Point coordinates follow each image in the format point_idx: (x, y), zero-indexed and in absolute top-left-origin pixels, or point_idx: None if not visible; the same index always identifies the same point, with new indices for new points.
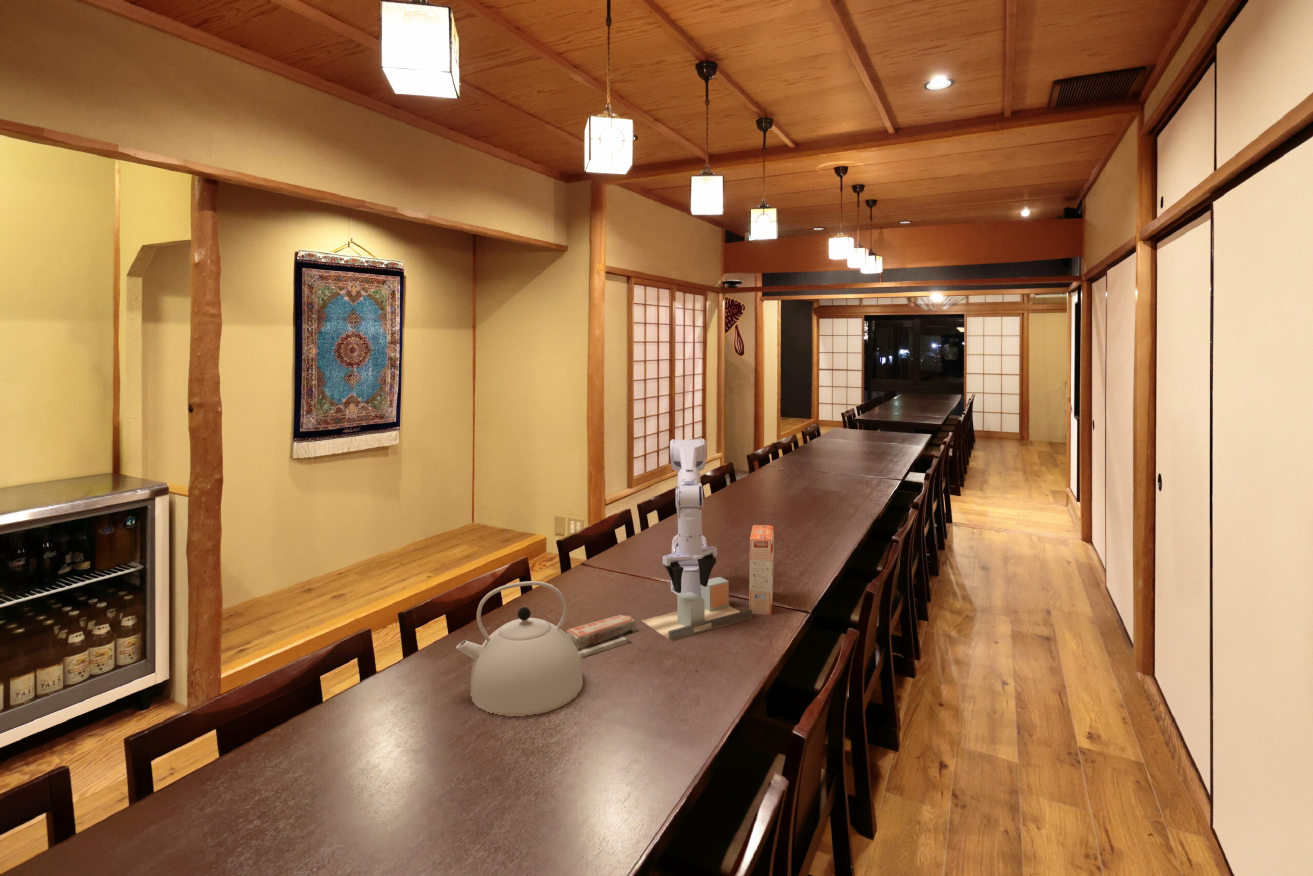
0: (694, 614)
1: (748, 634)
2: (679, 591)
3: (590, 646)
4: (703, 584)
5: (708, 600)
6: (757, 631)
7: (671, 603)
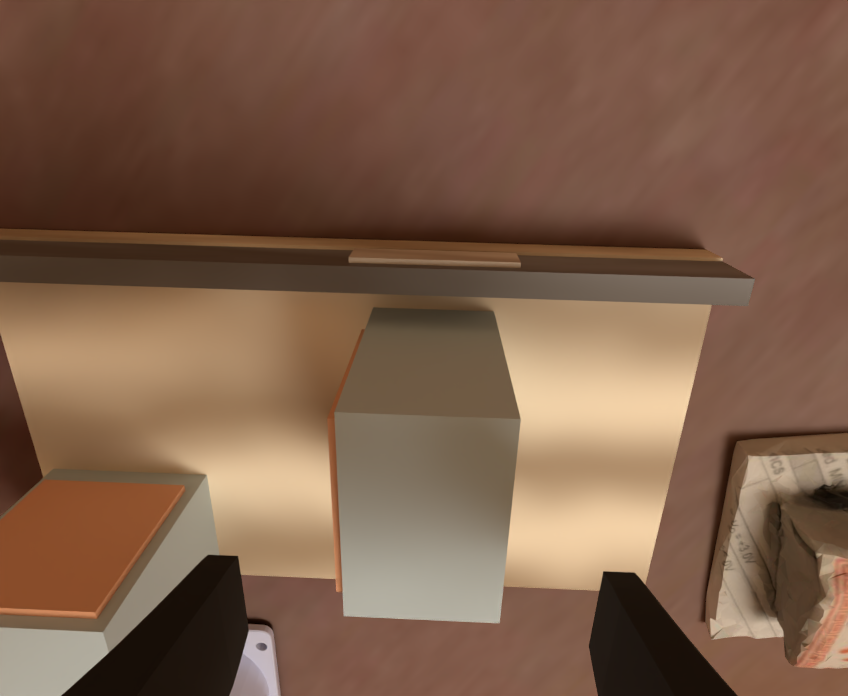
0: (465, 357)
1: (118, 69)
2: (636, 585)
3: None
4: (232, 597)
5: (176, 540)
6: (26, 73)
7: (322, 681)
